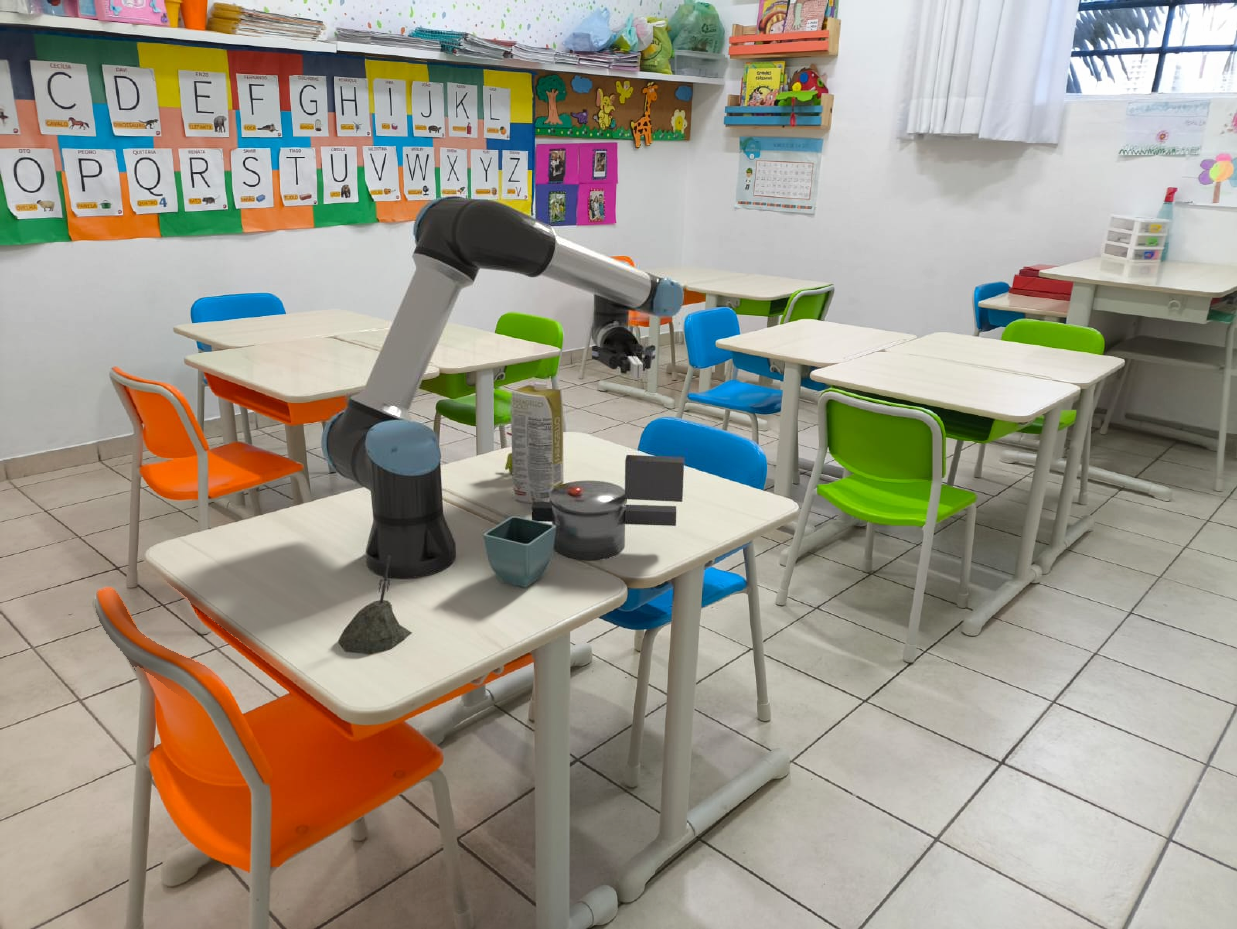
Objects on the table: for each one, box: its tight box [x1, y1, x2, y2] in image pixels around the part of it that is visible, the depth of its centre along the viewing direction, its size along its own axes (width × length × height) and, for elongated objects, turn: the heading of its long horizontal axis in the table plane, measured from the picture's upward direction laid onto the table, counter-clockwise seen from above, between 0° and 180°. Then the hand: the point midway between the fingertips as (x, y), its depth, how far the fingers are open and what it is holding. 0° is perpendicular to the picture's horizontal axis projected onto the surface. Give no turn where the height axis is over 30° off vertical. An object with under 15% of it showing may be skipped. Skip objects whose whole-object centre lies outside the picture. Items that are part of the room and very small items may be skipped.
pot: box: [531, 502, 677, 562], centre depth 156 cm, size 26×13×8 cm, turn 87°
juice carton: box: [510, 381, 565, 505], centre depth 173 cm, size 9×8×24 cm
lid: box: [550, 454, 685, 515], centre depth 152 cm, size 23×14×8 cm, turn 84°
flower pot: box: [482, 515, 556, 588], centre depth 143 cm, size 9×9×9 cm
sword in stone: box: [338, 556, 413, 655], centre depth 125 cm, size 10×8×12 cm
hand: (638, 371), depth 157 cm, fingers closed
